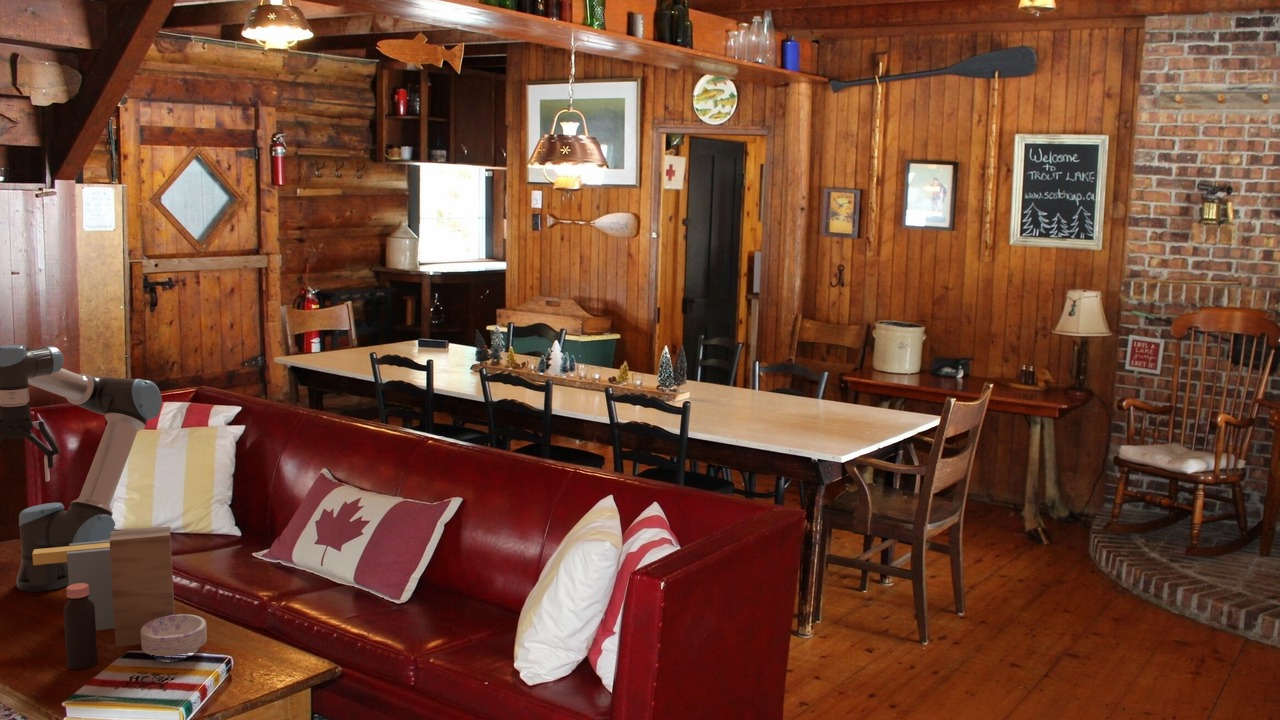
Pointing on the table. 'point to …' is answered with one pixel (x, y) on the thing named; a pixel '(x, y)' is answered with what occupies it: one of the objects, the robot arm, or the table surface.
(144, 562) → the walnut pedestal
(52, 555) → the ochre bar
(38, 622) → the table surface
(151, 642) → the paper bowls
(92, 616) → the bottle
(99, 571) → the grey u cradle
